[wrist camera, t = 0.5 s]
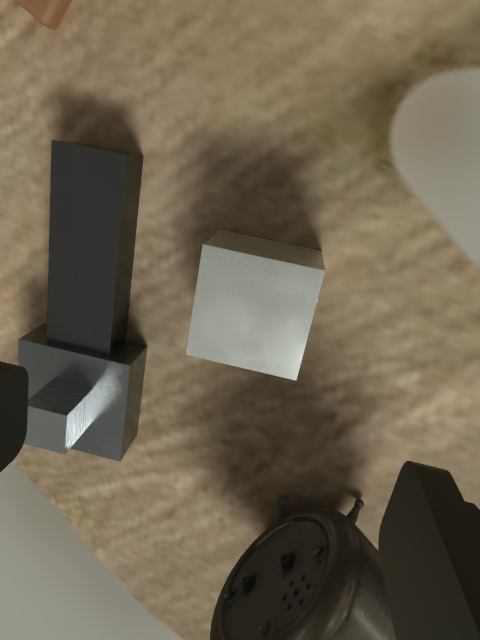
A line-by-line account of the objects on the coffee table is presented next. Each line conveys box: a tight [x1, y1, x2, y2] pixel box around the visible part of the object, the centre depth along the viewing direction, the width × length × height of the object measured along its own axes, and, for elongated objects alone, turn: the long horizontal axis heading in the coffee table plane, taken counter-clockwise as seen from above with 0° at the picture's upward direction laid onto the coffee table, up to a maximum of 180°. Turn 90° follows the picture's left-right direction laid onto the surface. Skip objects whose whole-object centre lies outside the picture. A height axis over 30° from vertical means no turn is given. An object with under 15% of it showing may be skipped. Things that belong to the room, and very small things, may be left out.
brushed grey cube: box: [186, 230, 325, 380], centre depth 23 cm, size 6×6×5 cm
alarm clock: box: [210, 496, 396, 640], centre depth 23 cm, size 11×5×16 cm, turn 132°
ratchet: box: [19, 140, 147, 461], centre depth 25 cm, size 18×7×6 cm, turn 170°
